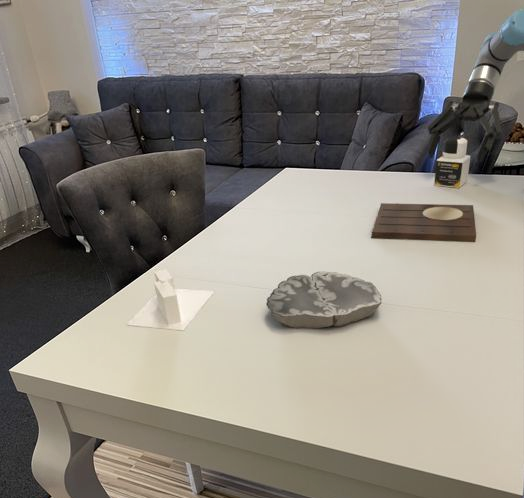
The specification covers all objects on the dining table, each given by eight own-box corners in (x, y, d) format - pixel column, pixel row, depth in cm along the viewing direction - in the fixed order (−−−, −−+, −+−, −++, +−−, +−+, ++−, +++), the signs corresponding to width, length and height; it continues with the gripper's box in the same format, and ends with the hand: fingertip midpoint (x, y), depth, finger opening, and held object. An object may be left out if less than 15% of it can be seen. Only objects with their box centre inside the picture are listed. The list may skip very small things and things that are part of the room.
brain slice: (358, 280, 103) (358, 266, 101) (391, 323, 89) (392, 307, 87) (258, 294, 101) (256, 280, 99) (275, 340, 86) (274, 324, 85)
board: (472, 211, 130) (473, 204, 129) (475, 241, 114) (476, 234, 113) (380, 208, 136) (380, 202, 135) (371, 238, 120) (371, 230, 119)
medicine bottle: (433, 185, 149) (438, 140, 143) (442, 178, 154) (447, 135, 148) (459, 188, 146) (465, 142, 139) (467, 181, 150) (473, 136, 144)
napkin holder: (184, 330, 91) (179, 300, 88) (125, 325, 94) (118, 296, 91) (214, 291, 103) (211, 263, 100) (161, 287, 106) (156, 260, 103)
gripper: (529, 99, 145) (502, 169, 143) (439, 96, 158) (414, 161, 156) (527, 80, 138) (500, 153, 137) (434, 79, 152) (408, 146, 150)
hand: (454, 157), depth 147 cm, fingers open, 13 cm apart
